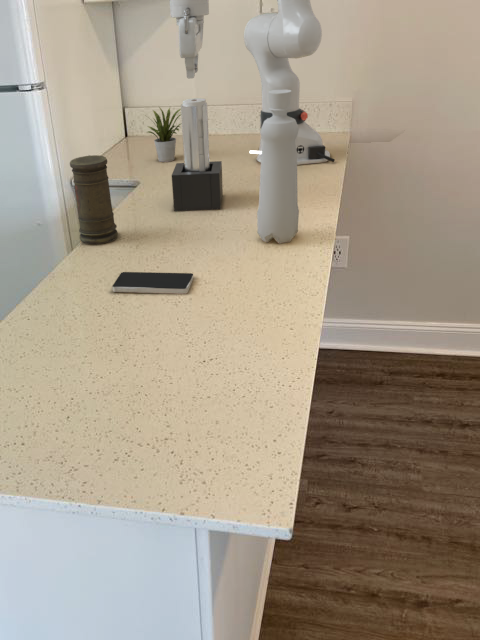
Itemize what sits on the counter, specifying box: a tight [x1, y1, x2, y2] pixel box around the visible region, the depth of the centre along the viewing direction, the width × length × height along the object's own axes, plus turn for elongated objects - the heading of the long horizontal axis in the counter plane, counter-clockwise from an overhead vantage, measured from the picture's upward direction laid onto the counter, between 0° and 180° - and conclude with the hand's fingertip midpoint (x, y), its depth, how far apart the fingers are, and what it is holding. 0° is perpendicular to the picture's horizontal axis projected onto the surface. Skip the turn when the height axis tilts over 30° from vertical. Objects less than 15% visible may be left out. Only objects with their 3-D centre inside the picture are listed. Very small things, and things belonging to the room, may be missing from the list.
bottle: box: [256, 90, 300, 244], centre depth 143 cm, size 9×9×30 cm
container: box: [69, 154, 119, 246], centre depth 155 cm, size 9×9×18 cm
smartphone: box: [111, 271, 194, 295], centre depth 134 cm, size 8×1×15 cm
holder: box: [171, 160, 224, 212], centre depth 175 cm, size 12×12×9 cm
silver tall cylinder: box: [180, 97, 211, 172], centre depth 170 cm, size 6×6×25 cm
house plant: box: [144, 106, 182, 163], centre depth 214 cm, size 14×14×16 cm
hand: (192, 75), depth 160 cm, fingers open, 8 cm apart
